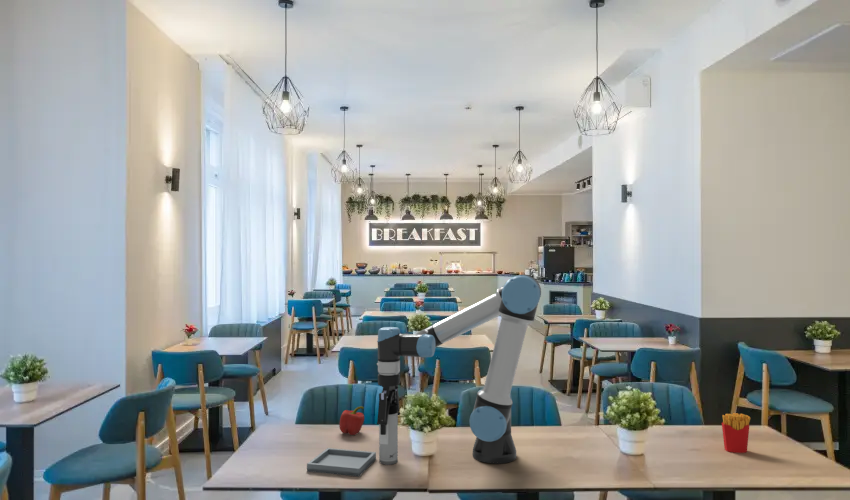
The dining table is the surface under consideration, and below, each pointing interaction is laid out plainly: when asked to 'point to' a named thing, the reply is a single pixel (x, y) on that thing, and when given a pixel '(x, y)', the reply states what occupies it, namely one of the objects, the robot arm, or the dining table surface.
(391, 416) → the travel mug
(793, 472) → the dining table surface
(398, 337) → the robot arm
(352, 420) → the vegetable
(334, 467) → the tray
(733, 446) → the french fries
